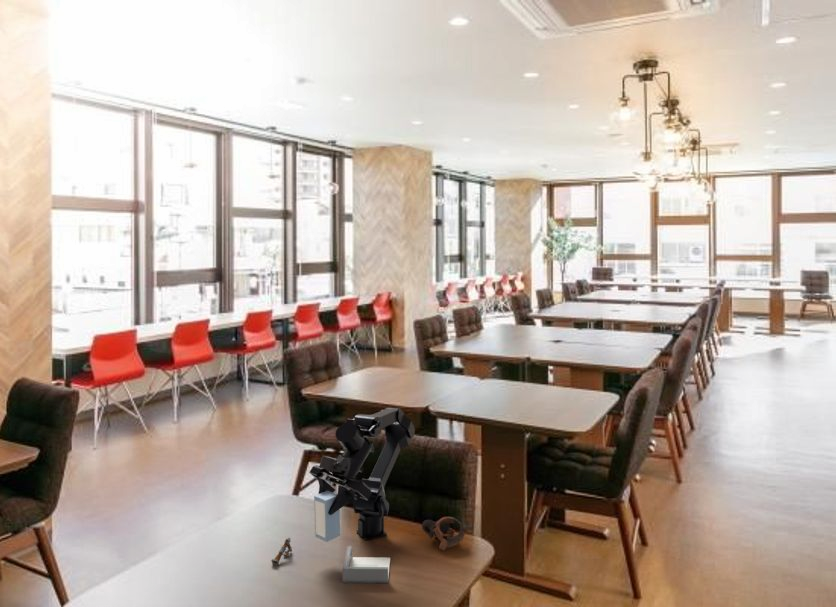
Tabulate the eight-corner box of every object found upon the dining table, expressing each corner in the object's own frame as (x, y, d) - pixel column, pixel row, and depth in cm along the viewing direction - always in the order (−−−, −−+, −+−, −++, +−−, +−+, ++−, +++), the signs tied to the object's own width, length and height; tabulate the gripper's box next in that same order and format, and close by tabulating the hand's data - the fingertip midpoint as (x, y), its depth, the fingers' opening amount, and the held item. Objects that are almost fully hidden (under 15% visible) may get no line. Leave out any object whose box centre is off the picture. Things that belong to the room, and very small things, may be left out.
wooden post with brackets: (295, 548, 177) (292, 536, 175) (281, 572, 171) (277, 560, 169) (289, 547, 178) (286, 535, 176) (275, 571, 171) (270, 559, 169)
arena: (347, 559, 173) (347, 546, 173) (390, 559, 173) (390, 546, 173) (342, 582, 161) (342, 568, 161) (387, 583, 161) (387, 569, 161)
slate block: (328, 530, 175) (327, 490, 174) (340, 535, 172) (339, 495, 171) (314, 536, 172) (313, 496, 170) (326, 542, 169) (325, 500, 167)
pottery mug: (463, 537, 188) (469, 518, 183) (456, 565, 180) (461, 546, 175) (423, 523, 190) (427, 504, 185) (413, 550, 182) (418, 531, 177)
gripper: (313, 435, 178) (281, 487, 171) (362, 450, 166) (329, 507, 159) (336, 456, 185) (306, 507, 178) (384, 472, 173) (354, 527, 166)
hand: (323, 511), depth 170 cm, fingers closed on slate block, 4 cm apart
